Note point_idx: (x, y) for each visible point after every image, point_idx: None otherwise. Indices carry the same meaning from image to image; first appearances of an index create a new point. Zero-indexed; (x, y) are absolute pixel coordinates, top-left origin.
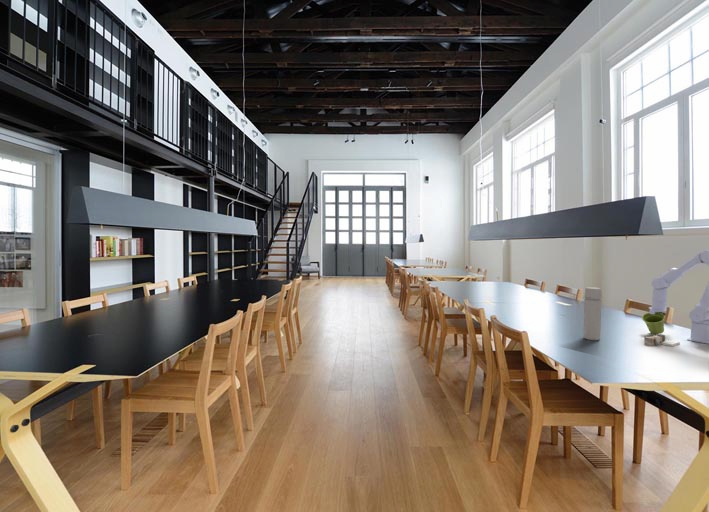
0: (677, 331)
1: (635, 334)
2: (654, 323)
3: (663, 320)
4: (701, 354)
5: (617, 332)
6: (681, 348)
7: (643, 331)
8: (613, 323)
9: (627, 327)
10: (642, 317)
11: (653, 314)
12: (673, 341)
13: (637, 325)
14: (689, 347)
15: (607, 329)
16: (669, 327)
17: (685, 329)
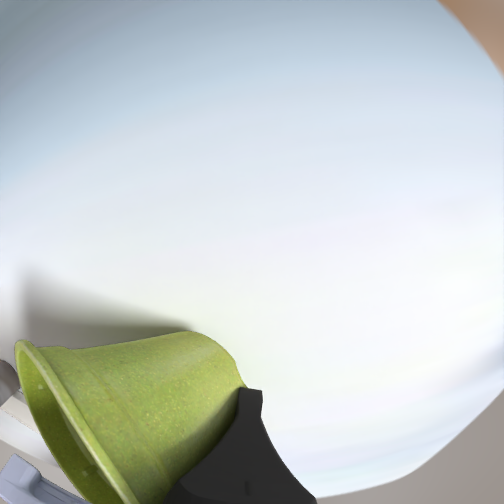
0: (401, 425)
1: (44, 248)
2: (45, 417)
3: (100, 490)
4: (10, 443)
5: (22, 136)
6: (9, 419)
7: (211, 275)
8: (395, 7)
9: (306, 111)
10: (24, 351)
11: (160, 494)
12: (31, 420)
13: (469, 180)
14: (43, 445)
15: (74, 45)
16: (497, 359)
17: (472, 418)
